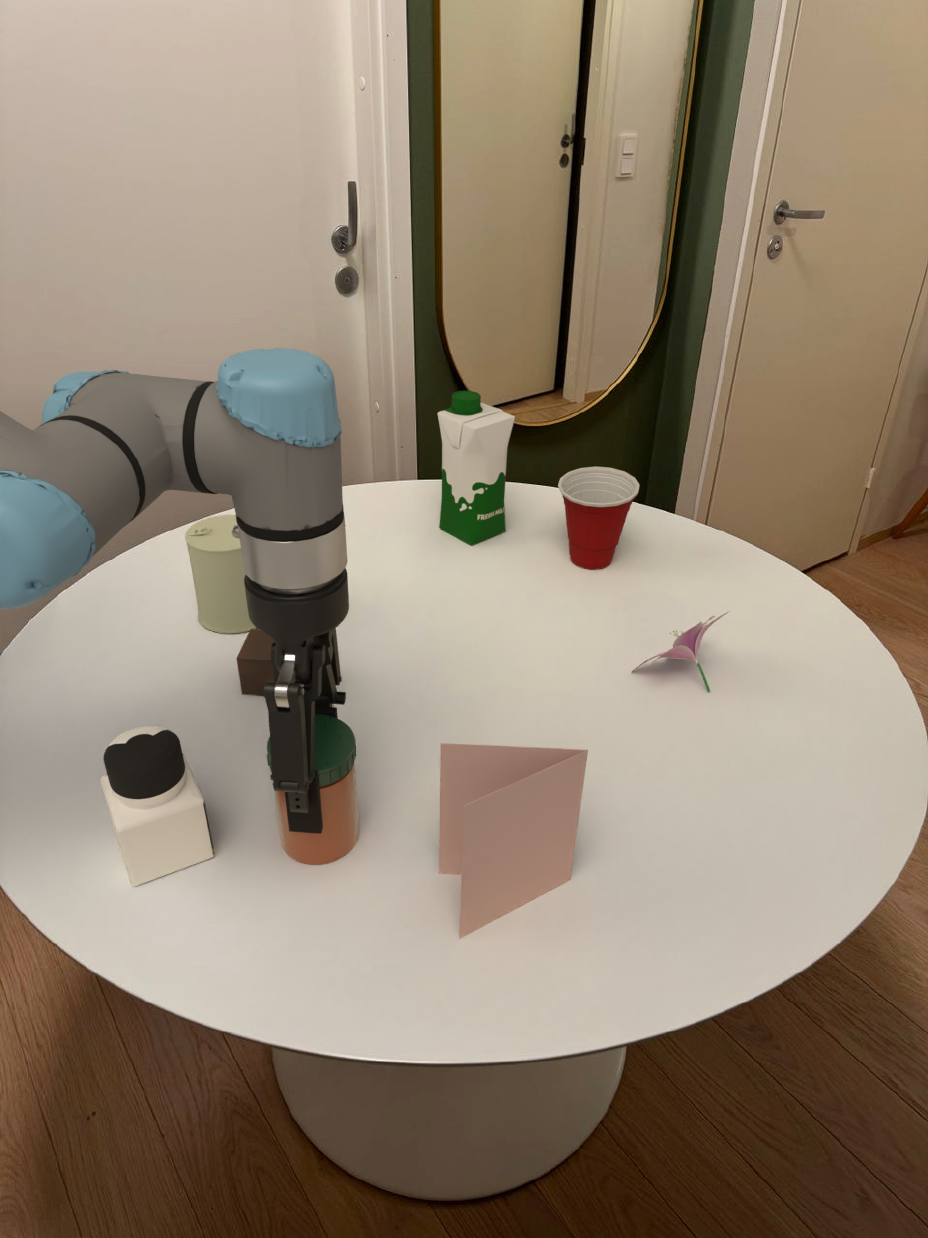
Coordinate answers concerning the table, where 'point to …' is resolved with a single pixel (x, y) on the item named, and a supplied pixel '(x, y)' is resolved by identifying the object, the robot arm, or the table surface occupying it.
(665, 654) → the lily
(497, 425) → the milk carton
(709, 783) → the table surface
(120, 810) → the medicine bottle
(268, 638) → the riser
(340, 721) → the lid
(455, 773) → the greeting card
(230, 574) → the can
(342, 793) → the jar
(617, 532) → the plastic cup
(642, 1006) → the table surface
